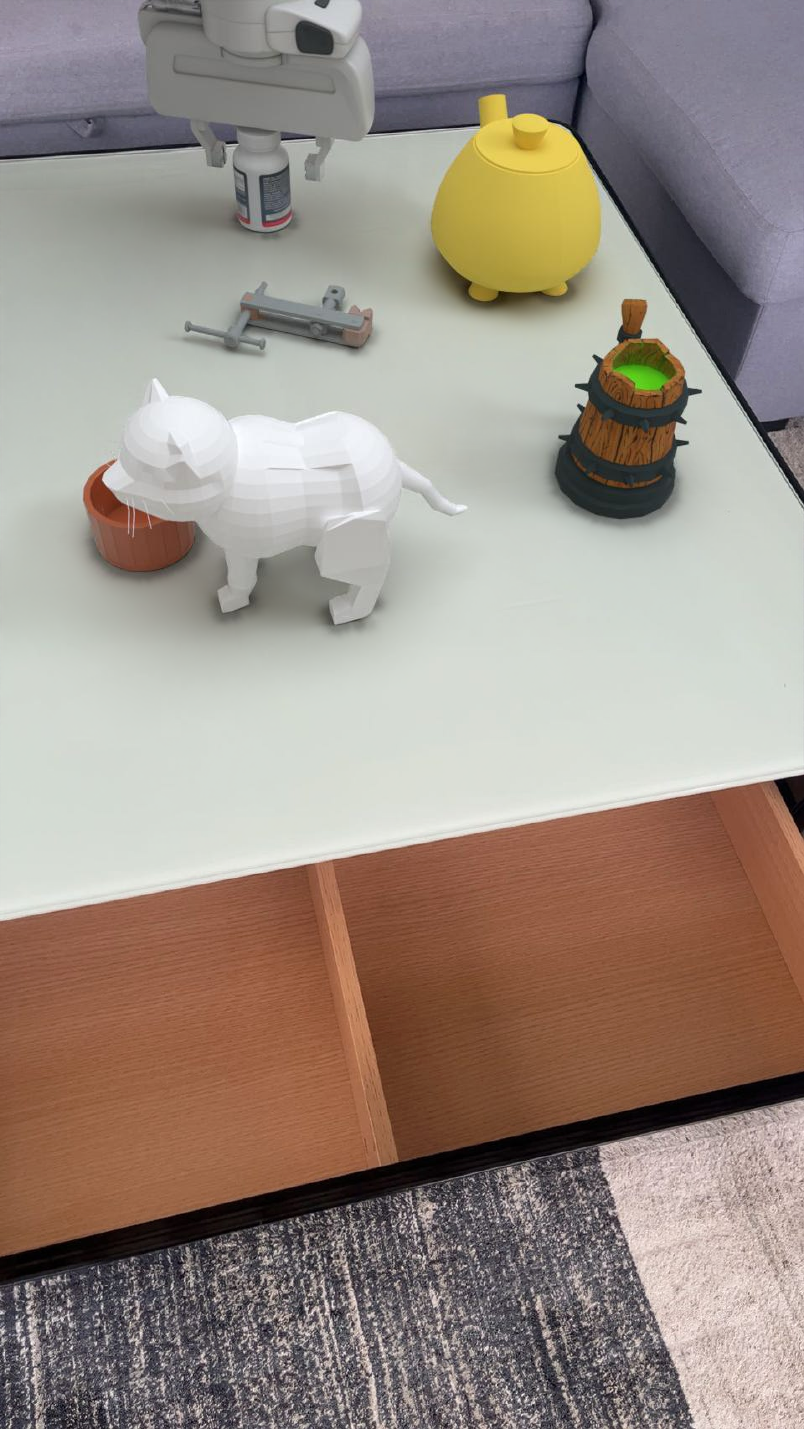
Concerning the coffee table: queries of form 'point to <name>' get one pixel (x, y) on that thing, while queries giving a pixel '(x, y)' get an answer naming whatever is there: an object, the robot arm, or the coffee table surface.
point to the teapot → (517, 206)
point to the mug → (626, 426)
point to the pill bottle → (261, 180)
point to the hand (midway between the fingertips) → (266, 171)
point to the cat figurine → (270, 490)
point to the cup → (140, 548)
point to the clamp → (352, 322)
